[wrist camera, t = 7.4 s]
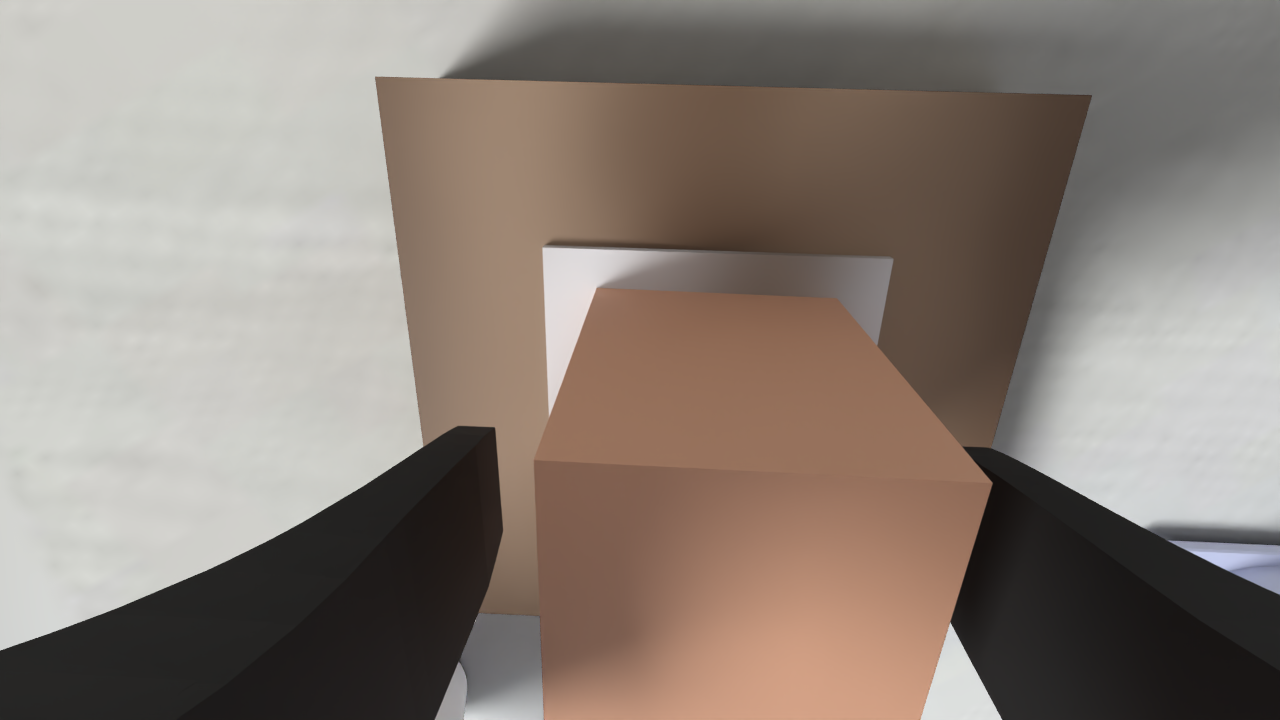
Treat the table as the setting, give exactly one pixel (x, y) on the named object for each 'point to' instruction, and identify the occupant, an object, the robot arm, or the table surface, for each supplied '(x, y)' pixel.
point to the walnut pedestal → (708, 236)
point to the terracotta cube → (744, 517)
